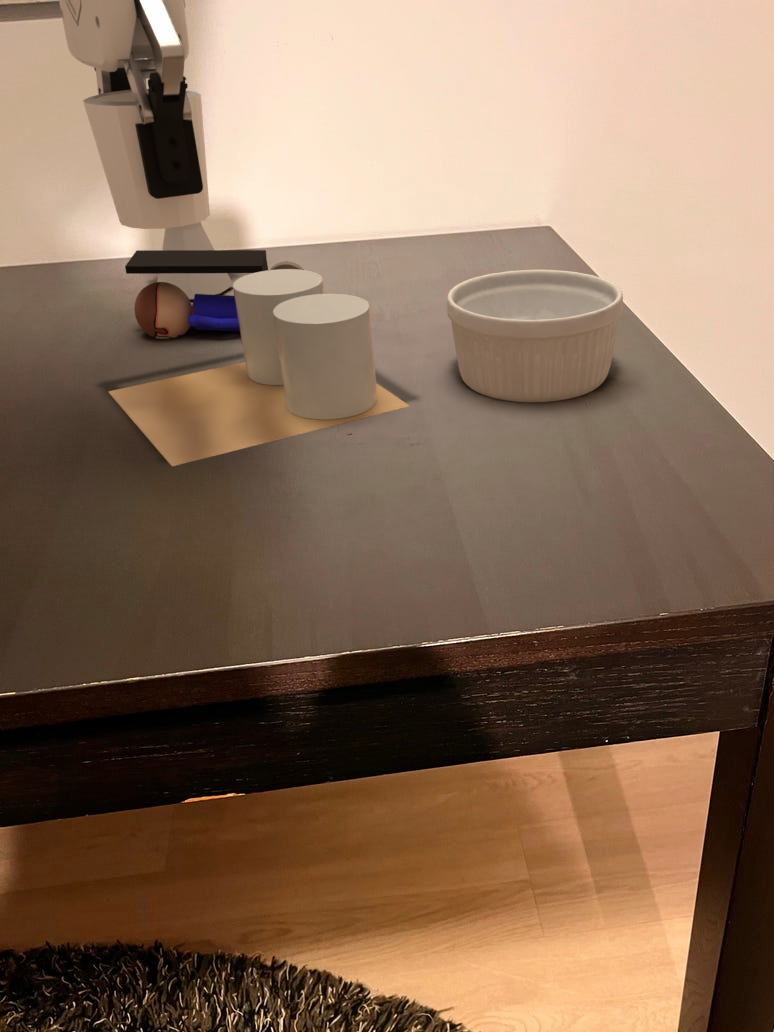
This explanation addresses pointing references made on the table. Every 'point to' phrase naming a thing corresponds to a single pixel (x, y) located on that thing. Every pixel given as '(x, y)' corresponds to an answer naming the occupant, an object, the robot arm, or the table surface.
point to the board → (221, 413)
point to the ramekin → (534, 333)
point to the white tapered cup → (141, 164)
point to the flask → (193, 282)
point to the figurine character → (170, 308)
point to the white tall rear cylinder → (267, 316)
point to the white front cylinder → (326, 355)
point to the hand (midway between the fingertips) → (157, 181)
